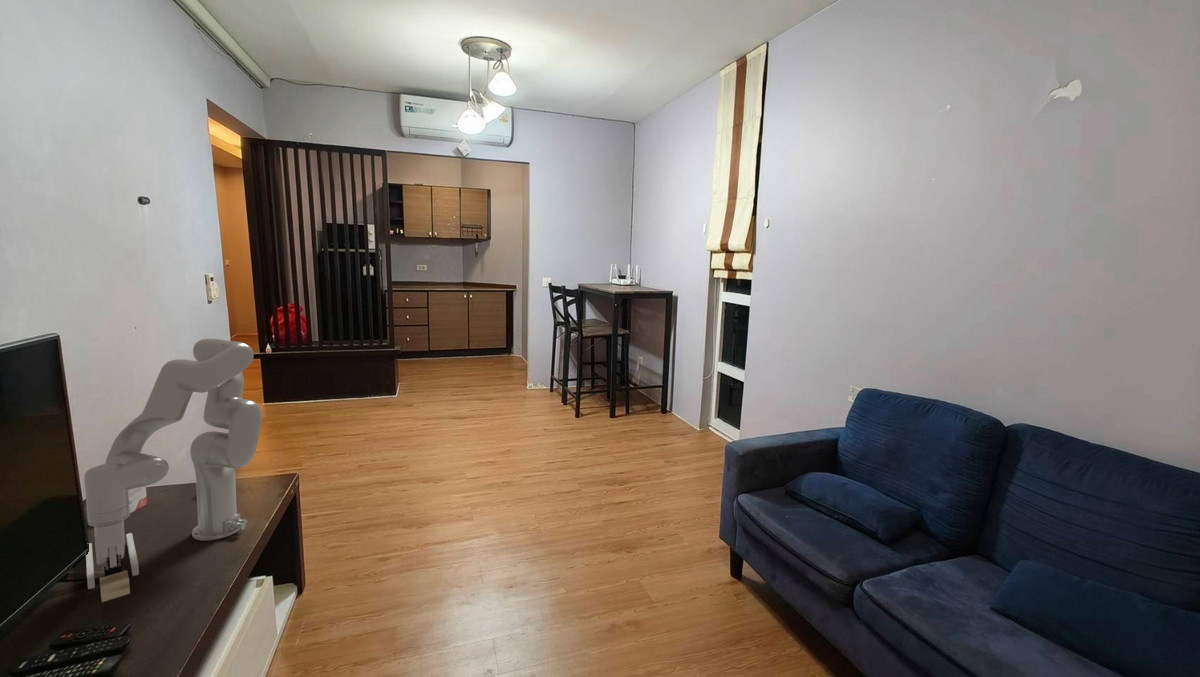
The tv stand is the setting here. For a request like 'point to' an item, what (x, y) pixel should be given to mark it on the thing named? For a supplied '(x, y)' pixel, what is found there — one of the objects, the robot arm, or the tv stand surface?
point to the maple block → (114, 586)
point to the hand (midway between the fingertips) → (114, 580)
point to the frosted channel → (131, 555)
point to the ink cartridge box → (137, 498)
